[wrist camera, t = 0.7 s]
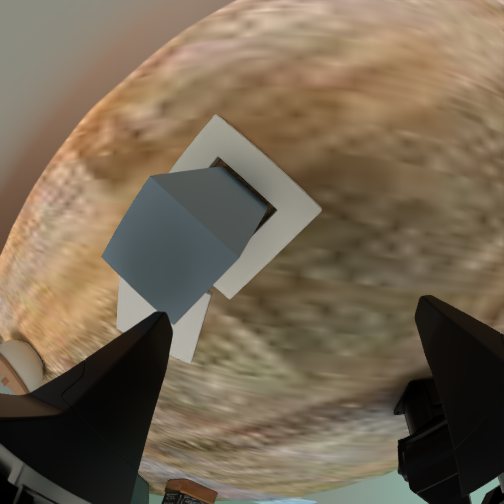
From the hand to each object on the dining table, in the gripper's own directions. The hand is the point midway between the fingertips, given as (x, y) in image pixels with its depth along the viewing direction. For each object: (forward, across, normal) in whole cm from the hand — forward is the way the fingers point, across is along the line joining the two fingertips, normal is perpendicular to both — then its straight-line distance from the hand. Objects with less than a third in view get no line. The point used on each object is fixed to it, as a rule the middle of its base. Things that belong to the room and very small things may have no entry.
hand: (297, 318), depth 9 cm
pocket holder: (+15, +5, 0) cm, 16 cm away
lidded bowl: (+16, +51, +26) cm, 60 cm away
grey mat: (+14, +14, +11) cm, 22 cm away
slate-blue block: (+15, +5, 0) cm, 16 cm away
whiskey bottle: (+9, +24, +66) cm, 71 cm away
